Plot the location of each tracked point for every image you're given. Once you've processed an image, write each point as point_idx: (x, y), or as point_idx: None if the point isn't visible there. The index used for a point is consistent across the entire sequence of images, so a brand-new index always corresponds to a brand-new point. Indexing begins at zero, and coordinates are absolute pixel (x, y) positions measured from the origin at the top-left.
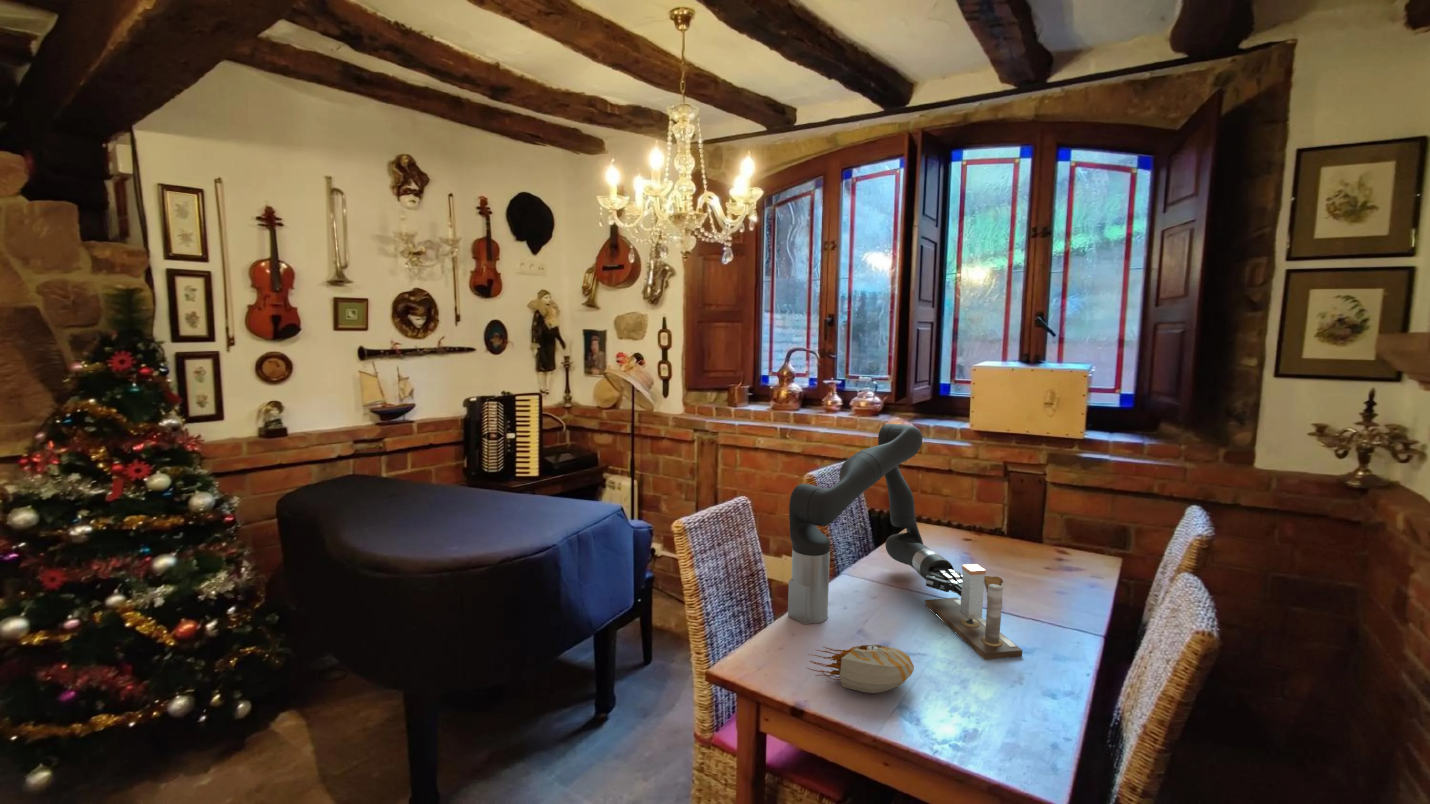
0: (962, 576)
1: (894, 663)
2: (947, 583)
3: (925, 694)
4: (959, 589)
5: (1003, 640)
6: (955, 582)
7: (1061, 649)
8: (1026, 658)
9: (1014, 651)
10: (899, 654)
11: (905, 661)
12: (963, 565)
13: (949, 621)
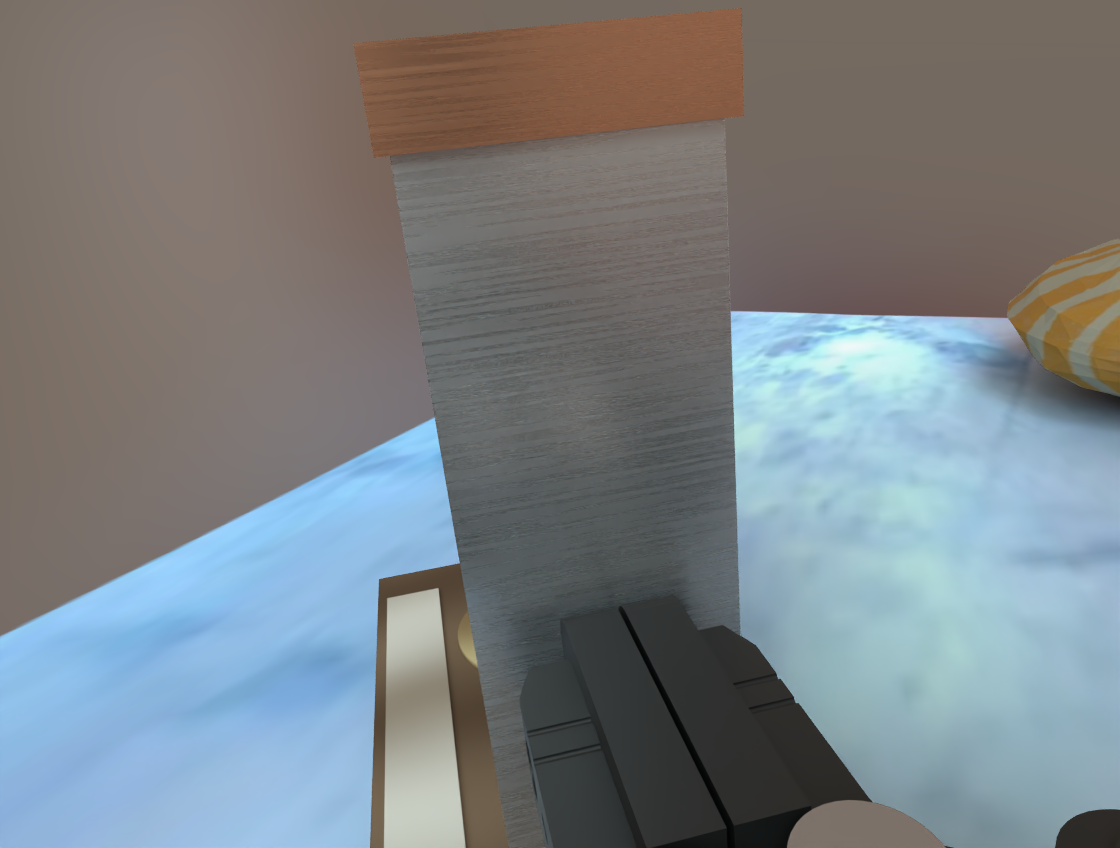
0: (728, 289)
1: (1084, 255)
2: (1110, 822)
3: (942, 397)
4: (763, 669)
5: (438, 639)
6: (861, 828)
7: (19, 720)
8: (372, 608)
9: (438, 571)
10: (1091, 269)
11: (1049, 279)
12: (714, 15)
13: None
